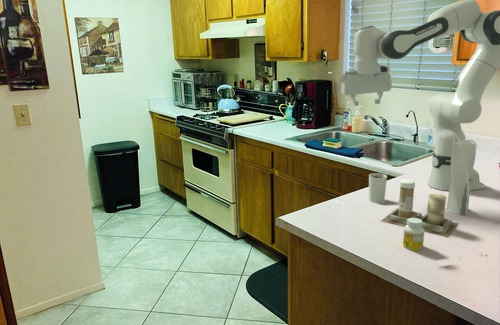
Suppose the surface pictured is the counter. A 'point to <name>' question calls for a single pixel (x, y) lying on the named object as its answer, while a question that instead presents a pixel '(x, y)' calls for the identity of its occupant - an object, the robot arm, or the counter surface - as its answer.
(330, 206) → the counter surface
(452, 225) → the brown holder tray
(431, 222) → the birch pin
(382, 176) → the white and black cylinder
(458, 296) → the counter surface
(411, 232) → the supplement bottle
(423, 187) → the counter surface
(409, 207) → the sprinkles bottle
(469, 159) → the skyscraper
